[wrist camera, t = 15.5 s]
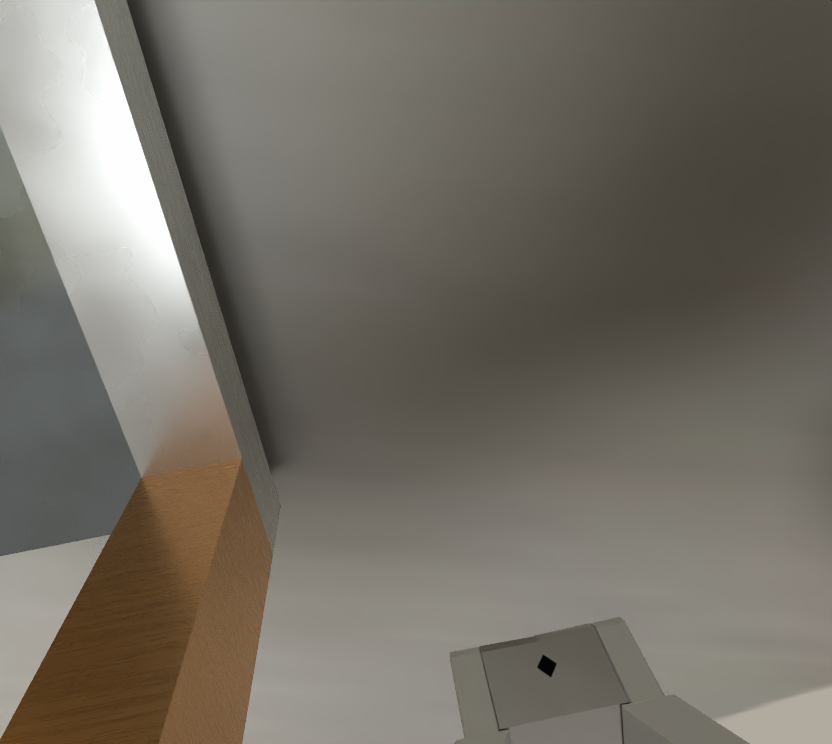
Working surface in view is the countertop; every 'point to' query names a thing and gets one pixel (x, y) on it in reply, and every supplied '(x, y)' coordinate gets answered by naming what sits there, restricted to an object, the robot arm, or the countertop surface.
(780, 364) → the countertop surface
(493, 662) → the robot arm
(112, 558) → the sliding jaw
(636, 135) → the countertop surface
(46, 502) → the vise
